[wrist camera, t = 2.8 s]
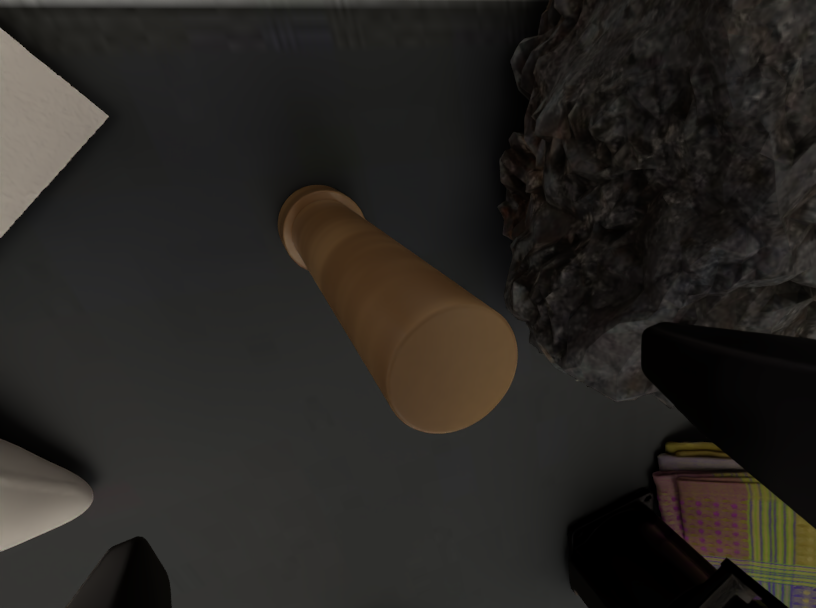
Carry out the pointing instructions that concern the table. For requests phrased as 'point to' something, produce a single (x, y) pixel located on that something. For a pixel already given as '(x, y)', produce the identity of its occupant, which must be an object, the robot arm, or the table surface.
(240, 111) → the table surface
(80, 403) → the table surface
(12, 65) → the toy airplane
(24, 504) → the nose
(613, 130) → the rock
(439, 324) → the pestle
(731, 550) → the dish towel
